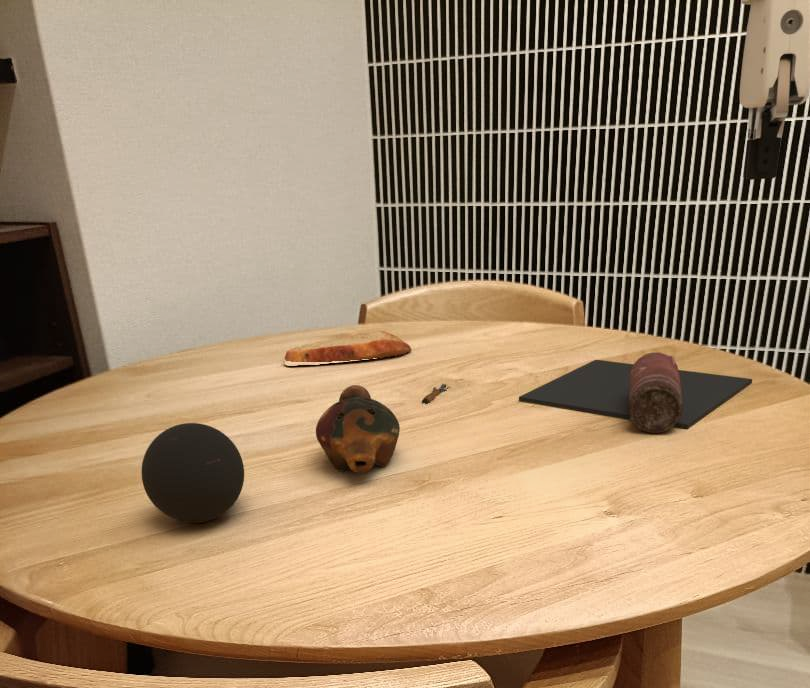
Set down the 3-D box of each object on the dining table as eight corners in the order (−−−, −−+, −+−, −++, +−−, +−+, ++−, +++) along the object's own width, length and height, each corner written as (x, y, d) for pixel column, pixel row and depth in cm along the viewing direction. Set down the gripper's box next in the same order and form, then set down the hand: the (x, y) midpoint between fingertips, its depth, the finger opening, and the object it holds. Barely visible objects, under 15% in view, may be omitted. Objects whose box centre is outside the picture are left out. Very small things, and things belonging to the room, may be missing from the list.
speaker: (230, 541, 79) (213, 443, 75) (135, 538, 81) (112, 443, 77) (263, 499, 88) (250, 409, 84) (177, 497, 90) (159, 410, 85)
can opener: (428, 406, 115) (427, 398, 114) (413, 405, 116) (413, 397, 115) (455, 389, 122) (455, 381, 121) (441, 387, 123) (441, 380, 122)
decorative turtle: (389, 437, 103) (389, 375, 99) (411, 490, 90) (411, 422, 86) (312, 442, 102) (308, 380, 98) (323, 497, 89) (319, 428, 85)
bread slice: (274, 365, 139) (271, 343, 138) (340, 341, 152) (338, 321, 150) (357, 376, 130) (355, 353, 128) (420, 349, 143) (419, 328, 141)
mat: (751, 383, 114) (752, 378, 113) (687, 429, 99) (687, 424, 99) (595, 363, 128) (595, 359, 128) (518, 400, 113) (518, 396, 113)
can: (665, 374, 94) (663, 339, 106) (618, 405, 97) (621, 368, 109) (695, 415, 95) (689, 376, 107) (647, 444, 99) (647, 403, 110)
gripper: (849, -34, 76) (817, 180, 84) (798, -11, 89) (775, 172, 98) (764, -26, 77) (741, 185, 85) (727, -5, 90) (709, 176, 99)
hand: (759, 178), depth 92 cm, fingers closed
